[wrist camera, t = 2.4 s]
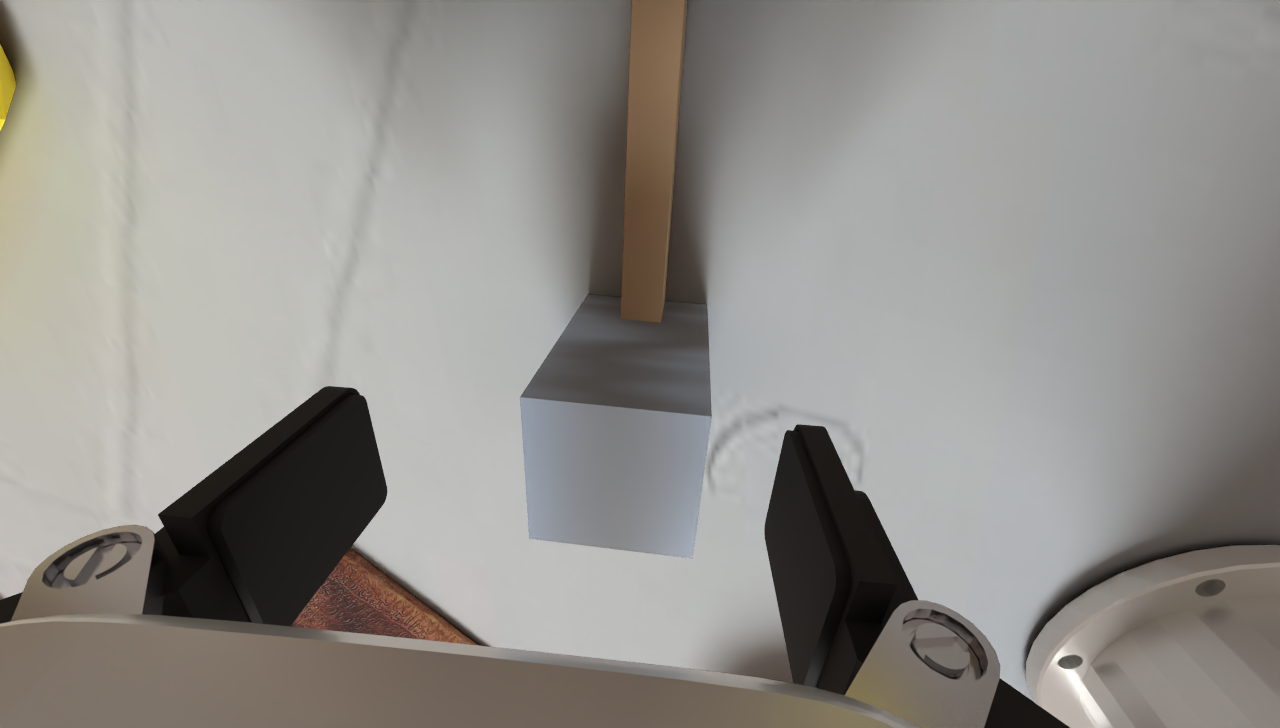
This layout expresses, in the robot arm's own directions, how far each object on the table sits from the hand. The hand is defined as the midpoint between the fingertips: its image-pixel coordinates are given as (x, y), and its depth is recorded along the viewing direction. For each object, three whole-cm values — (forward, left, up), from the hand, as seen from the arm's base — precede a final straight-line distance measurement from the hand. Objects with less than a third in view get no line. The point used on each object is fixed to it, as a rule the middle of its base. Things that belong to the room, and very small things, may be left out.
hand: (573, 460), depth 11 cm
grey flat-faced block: (-1, -4, -7) cm, 8 cm away
